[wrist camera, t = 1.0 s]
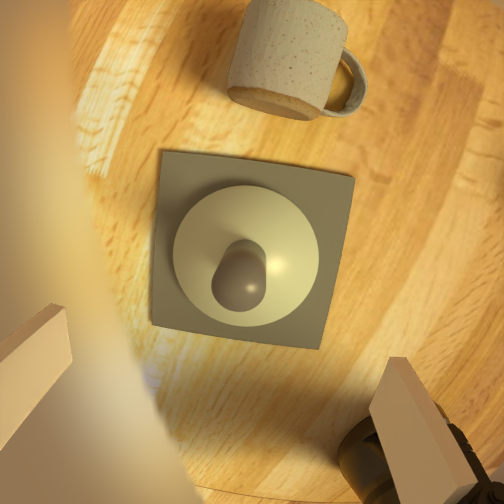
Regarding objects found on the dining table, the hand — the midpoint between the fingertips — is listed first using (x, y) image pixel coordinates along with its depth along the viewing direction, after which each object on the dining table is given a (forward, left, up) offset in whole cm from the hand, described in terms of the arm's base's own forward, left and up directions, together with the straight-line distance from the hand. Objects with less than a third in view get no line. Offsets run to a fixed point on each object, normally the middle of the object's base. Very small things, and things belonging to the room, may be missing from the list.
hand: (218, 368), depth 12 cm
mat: (0, 0, -17) cm, 17 cm away
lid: (0, 0, -16) cm, 16 cm away
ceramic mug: (+16, -2, -17) cm, 23 cm away
